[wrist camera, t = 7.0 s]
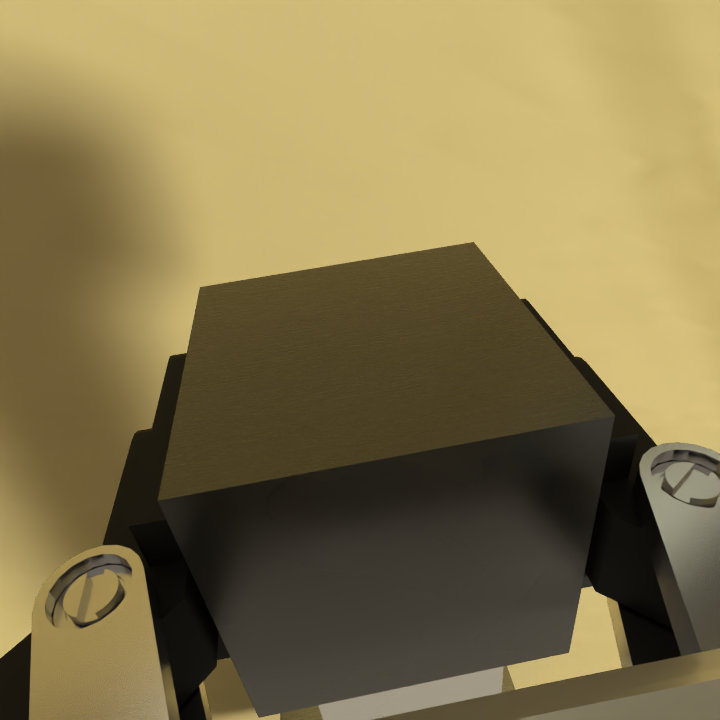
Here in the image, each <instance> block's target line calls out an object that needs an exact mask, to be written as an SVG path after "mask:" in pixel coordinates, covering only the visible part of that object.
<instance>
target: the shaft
mask: <svg viewBox="0 0 720 720" xmlns="http://www.w3.org/2000/svg"><path fill="white" fill-rule="evenodd" d="M614 418H615V415H614V414H613V413H612V411H611V410H610V409H609V408H608V407H607V405H606V404H605V403H604V402H603V400H602V399H601V398H600V397H599V395H598V394H597V393H596V392H595V391H594V389H593V388H592V387H591V386H590V384H589V383H588V382H587V381H586V380H585V378H584V377H583V376H582V375H581V373H580V372H579V371H578V370H577V368H576V367H575V366H574V365H573V364H572V362H571V361H570V360H569V359H568V357H567V356H566V355H565V354H564V352H563V351H562V350H561V349H560V348H559V346H558V345H557V344H556V343H555V341H554V340H553V339H552V338H551V337H550V335H549V334H548V333H547V332H546V330H545V329H544V328H543V327H542V325H541V324H540V323H539V322H538V321H537V319H536V318H535V317H534V316H533V314H532V313H531V312H530V311H529V310H528V308H527V307H526V306H525V305H524V303H523V302H522V301H521V300H520V298H519V297H518V296H517V295H516V294H515V292H514V291H513V290H512V289H511V287H510V286H509V285H508V284H507V283H506V281H505V280H504V279H503V278H502V276H501V275H500V274H499V273H498V271H497V270H496V269H495V268H494V267H493V265H492V264H491V263H490V262H489V260H488V259H487V258H486V257H485V255H484V254H483V253H482V252H481V251H480V249H479V248H478V247H477V246H476V244H475V243H474V242H472V243H466V244H460V245H453V246H447V247H441V248H435V249H429V250H423V251H417V252H411V253H405V254H399V255H393V256H387V257H381V258H375V259H369V260H363V261H356V262H350V263H344V264H338V265H332V266H326V267H320V268H314V269H308V270H302V271H296V272H290V273H284V274H278V275H272V276H265V277H259V278H253V279H247V280H241V281H235V282H229V283H223V284H217V285H211V286H205V287H200V290H199V295H198V300H197V305H196V310H195V315H194V320H193V325H192V330H191V335H190V340H189V345H188V350H187V355H186V360H185V365H184V370H183V375H182V380H181V385H180V390H179V395H178V400H177V405H176V410H175V415H174V420H173V425H172V430H171V435H170V440H169V445H168V451H167V456H166V461H165V466H164V471H163V476H162V481H161V486H160V491H159V496H158V503H159V505H160V507H161V509H162V511H163V514H164V516H165V518H166V520H167V522H168V524H169V526H170V529H171V531H172V533H173V535H174V537H175V539H176V541H177V544H178V546H179V548H180V550H181V552H182V554H183V556H184V559H185V561H186V563H187V565H188V567H189V569H190V571H191V573H192V576H193V578H194V580H195V582H196V584H197V586H198V588H199V591H200V593H201V595H202V597H203V599H204V601H205V603H206V606H207V608H208V610H209V612H210V614H211V616H212V618H213V621H214V623H215V625H216V627H217V629H218V631H219V633H220V636H221V638H222V640H223V642H224V644H225V646H226V648H227V651H228V653H229V655H230V657H231V659H232V661H233V663H234V666H235V668H236V670H237V672H238V674H239V676H240V678H241V681H242V683H243V685H244V687H245V689H246V691H247V693H248V696H249V698H250V700H251V702H252V704H253V706H254V708H255V711H256V713H257V715H258V717H259V718H260V717H264V716H269V715H274V714H279V713H284V712H288V711H293V710H298V709H303V708H307V707H312V706H317V705H318V706H319V709H320V712H321V715H322V718H323V720H372V719H377V718H382V717H387V716H392V715H397V714H401V713H406V712H411V711H416V710H421V709H425V708H430V707H435V706H440V705H445V704H449V703H454V702H459V701H464V700H469V699H474V698H478V697H483V696H488V695H493V694H498V693H502V680H503V666H507V665H512V664H517V663H522V662H527V661H531V660H536V659H541V658H546V657H550V656H555V655H560V654H565V653H569V650H570V644H571V639H572V634H573V629H574V624H575V619H576V614H577V608H578V603H579V598H580V593H581V588H582V583H583V578H584V572H585V567H586V562H587V557H588V552H589V547H590V542H591V536H592V531H593V526H594V521H595V516H596V511H597V506H598V500H599V495H600V490H601V485H602V480H603V475H604V470H605V464H606V459H607V454H608V449H609V444H610V439H611V434H612V428H613V423H614Z"/></svg>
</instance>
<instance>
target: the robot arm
mask: <svg viewBox="0 0 720 720" xmlns="http://www.w3.org/2000/svg"><path fill="white" fill-rule="evenodd" d="M520 300H521V301H522V302H523V303H524V305H525V306H526V307H527V308H528V310H529V311H530V312H531V313H532V314H533V316H534V317H535V318H536V319H537V321H538V322H539V323H540V324H541V325H542V327H543V328H544V329H545V330H546V332H547V333H548V334H549V335H550V337H551V338H552V339H553V340H554V341H555V343H556V344H557V345H558V346H559V348H560V349H561V350H562V351H563V352H564V354H565V355H566V356H567V357H568V359H569V360H570V361H571V362H572V364H573V365H574V366H575V367H576V368H577V370H578V371H579V372H580V373H581V375H582V376H583V377H584V378H585V380H586V381H587V382H588V383H589V384H590V386H591V387H592V388H593V389H594V391H595V392H596V393H597V394H598V395H599V397H600V398H601V399H602V400H603V402H604V403H605V404H606V405H607V407H608V408H609V409H610V410H611V411H612V413H613V414H614V415H615V418H614V423H613V428H612V434H611V439H610V444H609V449H608V454H607V459H606V464H605V470H604V475H603V480H602V485H601V490H600V495H599V500H598V506H597V511H596V516H595V521H594V526H593V531H592V536H591V542H590V547H589V552H588V557H587V562H586V567H585V572H584V578H583V583H582V588H585V587H590V586H593V587H594V589H595V591H596V592H598V593H600V594H602V595H604V596H606V597H607V603H608V607H609V611H610V616H611V620H612V625H613V629H614V634H615V638H616V643H617V647H618V651H619V656H620V660H621V665H622V668H620V669H615V670H610V671H605V672H600V673H595V674H590V675H585V676H580V677H576V678H571V679H566V680H561V681H556V682H551V683H546V684H541V685H537V686H532V687H527V688H522V689H517V690H512V691H508V692H503V693H498V694H493V695H488V696H483V697H478V698H474V699H469V700H464V701H459V702H454V703H449V704H445V705H440V706H435V707H430V708H425V709H421V710H416V711H411V712H406V713H401V714H397V715H392V716H387V717H382V718H377V719H372V720H720V454H719V453H717V452H715V451H713V450H711V449H708V448H705V447H701V446H698V445H695V444H687V443H679V442H678V443H665V444H661V445H658V446H657V445H656V444H655V442H654V441H653V440H652V439H651V438H650V437H649V435H648V434H647V433H646V432H645V431H644V429H643V428H642V427H641V426H640V425H639V424H638V422H637V421H636V420H635V419H634V418H633V417H632V415H631V414H630V413H629V412H628V411H627V409H626V408H625V407H624V406H623V405H622V404H621V402H620V401H619V400H618V399H617V398H616V397H615V395H614V394H613V393H612V392H611V391H610V390H609V388H608V387H607V386H606V385H605V384H604V382H603V381H602V380H601V379H600V378H599V377H598V375H597V374H596V373H595V372H594V371H593V370H592V368H591V367H590V366H589V365H588V364H587V363H586V362H585V361H584V360H583V359H582V358H580V357H574V356H573V355H572V353H571V352H570V351H569V350H568V349H567V347H566V346H565V345H564V344H563V343H562V341H561V340H560V339H559V338H558V337H557V335H556V334H555V333H554V332H553V331H552V329H551V328H550V327H549V326H548V324H547V323H546V322H545V321H544V320H543V318H542V317H541V316H540V315H539V314H538V312H537V311H536V310H535V309H534V308H533V306H532V305H531V304H530V303H529V302H528V301H527V300H526V299H520ZM186 355H187V353H185V354H179V355H173V356H170V358H169V361H168V365H167V369H166V373H165V377H164V382H163V386H162V390H161V394H160V398H159V402H158V406H157V410H156V414H155V419H154V423H153V427H152V429H147V430H141V431H137V432H136V433H135V434H134V436H133V439H132V442H131V445H130V449H129V452H128V456H127V460H126V463H125V467H124V470H123V474H122V477H121V481H120V485H119V488H118V492H117V495H116V499H115V502H114V506H113V509H112V513H111V517H110V520H109V524H108V527H107V531H106V534H105V538H104V542H103V545H102V546H99V547H96V548H92V549H89V550H86V551H84V552H82V553H80V554H78V555H76V556H74V557H72V558H70V559H69V560H68V561H67V562H65V563H64V564H63V565H61V566H60V567H59V568H58V569H56V570H55V571H54V572H53V574H52V575H51V576H50V577H49V578H48V579H47V580H46V582H45V583H44V584H43V586H42V588H41V589H40V591H39V593H38V595H37V597H36V598H35V603H34V607H33V612H32V632H31V633H30V634H29V635H28V636H27V637H25V638H24V639H23V640H22V641H21V642H19V643H18V644H17V645H16V646H15V647H14V648H12V649H11V650H10V651H9V652H8V653H6V654H5V655H4V656H3V657H2V658H1V659H0V720H212V717H211V712H210V708H209V703H208V699H207V695H206V690H205V686H204V682H203V681H204V680H205V679H206V678H207V676H208V675H209V674H210V673H211V672H212V671H213V670H214V669H215V667H216V666H217V660H219V659H224V658H229V657H230V655H229V653H228V651H227V648H226V646H225V644H224V642H223V640H222V638H221V636H220V633H219V631H218V629H217V627H216V625H215V623H214V621H213V618H212V616H211V614H210V612H209V610H208V608H207V606H206V603H205V601H204V599H203V597H202V595H201V593H200V591H199V588H198V586H197V584H196V582H195V580H194V578H193V576H192V573H191V571H190V569H189V567H188V565H187V563H186V561H185V559H184V556H183V554H182V552H181V550H180V548H179V546H178V544H177V541H176V539H175V537H174V535H173V533H172V531H171V529H170V526H169V524H168V522H167V520H166V518H165V516H164V514H163V511H162V509H161V507H160V505H159V503H158V496H159V491H160V486H161V481H162V476H163V471H164V466H165V461H166V456H167V451H168V445H169V440H170V435H171V430H172V425H173V420H174V415H175V410H176V405H177V400H178V395H179V390H180V385H181V380H182V375H183V370H184V365H185V360H186Z"/></svg>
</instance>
